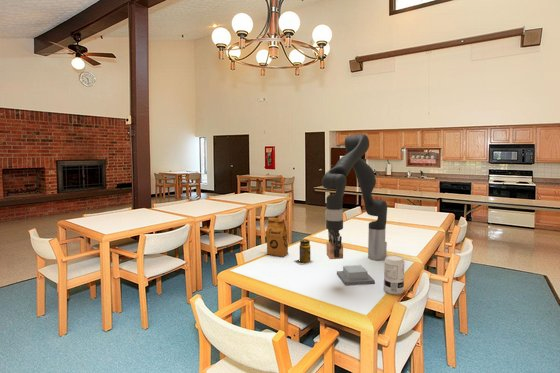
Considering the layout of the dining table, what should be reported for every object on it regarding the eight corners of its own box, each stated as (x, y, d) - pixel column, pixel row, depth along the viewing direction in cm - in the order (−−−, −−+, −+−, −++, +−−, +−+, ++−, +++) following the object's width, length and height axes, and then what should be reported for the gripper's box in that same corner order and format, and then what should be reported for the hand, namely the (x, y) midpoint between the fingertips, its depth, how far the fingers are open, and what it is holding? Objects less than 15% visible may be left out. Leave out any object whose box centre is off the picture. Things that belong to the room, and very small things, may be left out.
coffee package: (282, 258, 193) (281, 220, 191) (264, 255, 199) (263, 218, 197) (290, 253, 202) (290, 217, 199) (273, 250, 208) (272, 215, 205)
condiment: (313, 261, 186) (313, 240, 185) (301, 265, 182) (301, 243, 180) (305, 258, 192) (305, 238, 191) (293, 261, 188) (293, 240, 186)
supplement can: (380, 287, 151) (381, 255, 149) (398, 287, 151) (399, 254, 150) (388, 295, 143) (388, 261, 141) (406, 294, 143) (407, 260, 141)
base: (363, 272, 169) (364, 263, 169) (374, 283, 155) (374, 273, 155) (336, 274, 168) (336, 264, 167) (345, 285, 154) (345, 274, 153)
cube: (339, 254, 155) (339, 241, 154) (343, 258, 149) (343, 245, 148) (326, 254, 154) (326, 242, 154) (329, 259, 149) (329, 246, 148)
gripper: (347, 221, 143) (347, 259, 145) (338, 214, 157) (338, 249, 159) (330, 222, 142) (330, 260, 144) (322, 215, 156) (323, 250, 159)
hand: (334, 254), depth 152 cm, fingers closed on cube, 6 cm apart
